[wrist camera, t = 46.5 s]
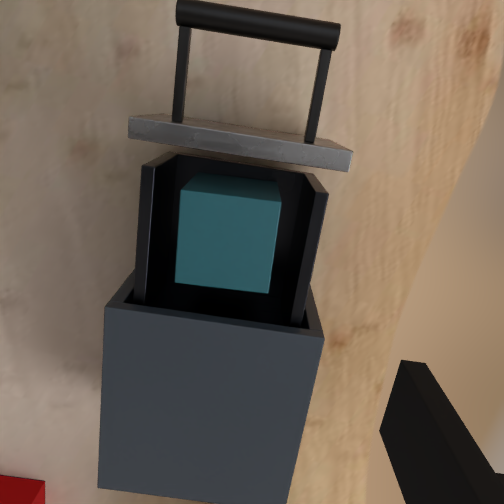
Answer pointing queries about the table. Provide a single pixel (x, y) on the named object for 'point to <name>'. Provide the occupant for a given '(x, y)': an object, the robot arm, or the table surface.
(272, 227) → the block
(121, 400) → the cabinet
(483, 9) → the table surface
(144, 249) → the drawer
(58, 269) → the table surface
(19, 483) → the puzzle toy
